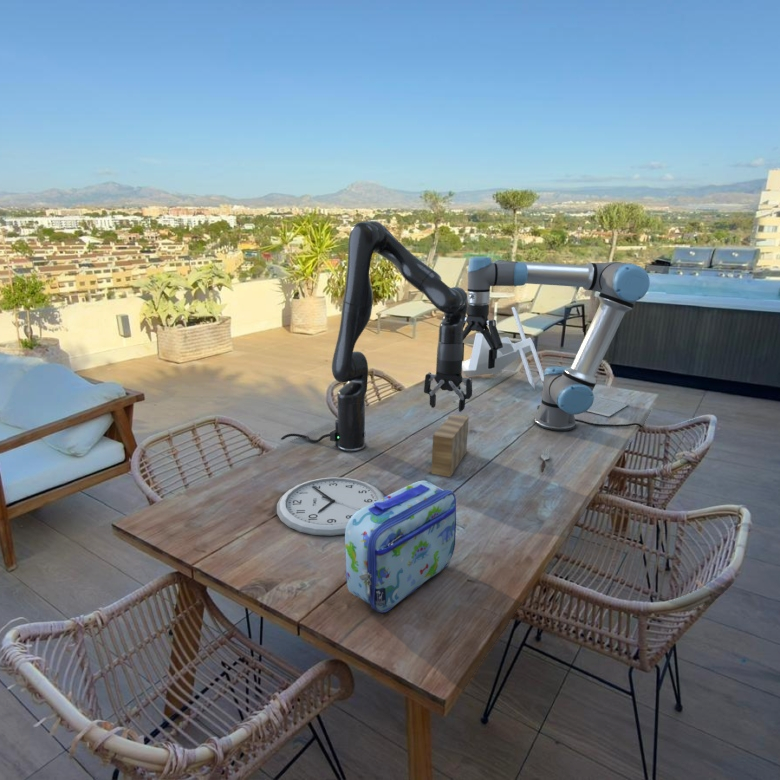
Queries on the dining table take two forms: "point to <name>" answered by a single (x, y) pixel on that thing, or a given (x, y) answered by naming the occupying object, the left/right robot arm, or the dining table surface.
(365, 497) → the wall clock
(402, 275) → the left robot arm
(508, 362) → the white plastic object
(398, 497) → the lunch box
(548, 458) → the fork
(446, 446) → the box
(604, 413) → the invitation card
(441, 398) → the dining table surface
